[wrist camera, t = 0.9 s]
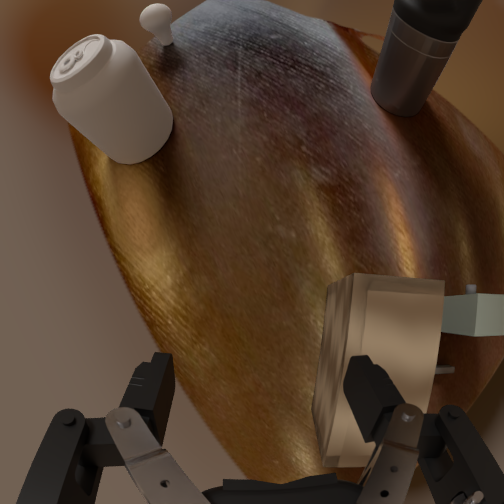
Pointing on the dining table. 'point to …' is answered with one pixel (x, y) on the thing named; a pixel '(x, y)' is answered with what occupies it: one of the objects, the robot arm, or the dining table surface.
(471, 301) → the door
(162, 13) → the lightbulb
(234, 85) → the dining table surface
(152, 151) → the can
